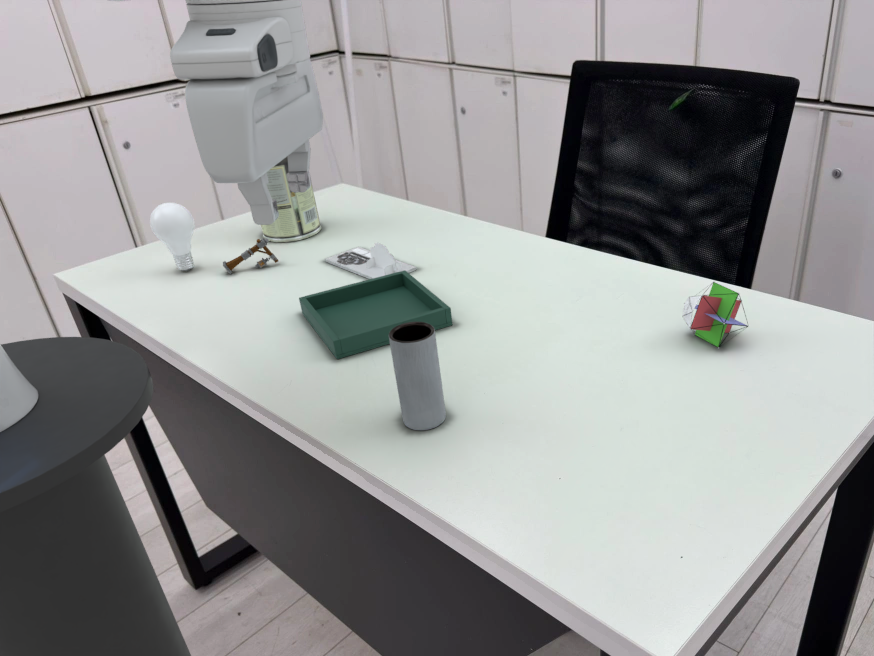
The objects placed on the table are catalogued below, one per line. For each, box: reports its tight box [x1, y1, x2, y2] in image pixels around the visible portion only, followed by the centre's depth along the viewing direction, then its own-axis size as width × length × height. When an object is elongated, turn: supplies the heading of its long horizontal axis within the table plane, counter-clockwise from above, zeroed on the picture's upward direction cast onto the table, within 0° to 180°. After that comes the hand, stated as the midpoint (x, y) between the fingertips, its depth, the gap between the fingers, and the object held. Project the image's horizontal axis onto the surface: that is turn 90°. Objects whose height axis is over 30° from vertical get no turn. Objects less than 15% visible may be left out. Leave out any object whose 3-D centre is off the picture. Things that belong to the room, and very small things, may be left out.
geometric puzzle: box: [682, 280, 750, 349], centre depth 87 cm, size 7×7×8 cm
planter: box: [389, 322, 447, 431], centre depth 75 cm, size 4×4×10 cm
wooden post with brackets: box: [222, 238, 279, 275], centre depth 118 cm, size 2×8×4 cm, turn 108°
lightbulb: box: [149, 201, 196, 272], centre depth 117 cm, size 6×6×11 cm
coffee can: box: [260, 156, 322, 243], centre depth 129 cm, size 10×10×14 cm
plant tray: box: [298, 270, 453, 360], centre depth 99 cm, size 16×16×2 cm
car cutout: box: [324, 242, 418, 280], centre depth 115 cm, size 15×7×4 cm, turn 46°
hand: (285, 205), depth 68 cm, fingers open, 8 cm apart
